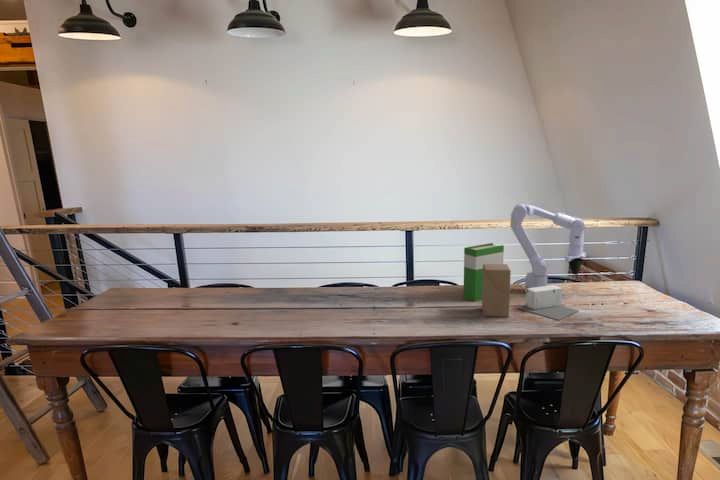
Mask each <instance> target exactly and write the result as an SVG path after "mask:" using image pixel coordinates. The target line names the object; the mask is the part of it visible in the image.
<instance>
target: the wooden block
mask: <svg viewBox="0 0 720 480" xmlns="http://www.w3.org/2000/svg"><path fill="white" fill-rule="evenodd" d="M511 272H512V271H511V269H510V267H509V265H508V264H506V263H503V264H483V287H482V300H481V309H482V313H483V316H484V317H501V318H502V317H504V318H505V317H506V318H508V317H509V316H510V301H511V300H510V299H511V298H510V295H511V276H512V275H511Z"/></svg>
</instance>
